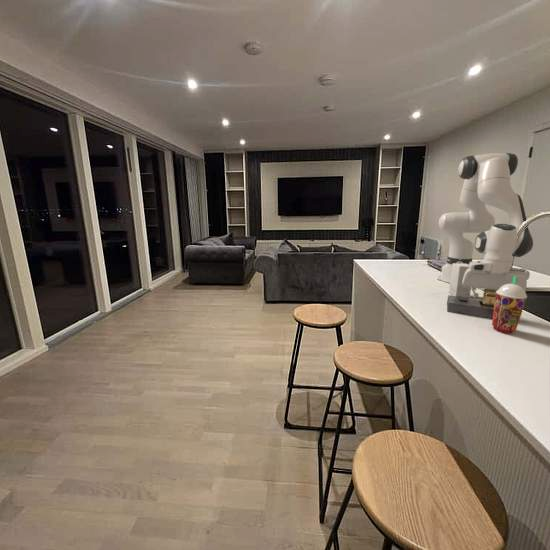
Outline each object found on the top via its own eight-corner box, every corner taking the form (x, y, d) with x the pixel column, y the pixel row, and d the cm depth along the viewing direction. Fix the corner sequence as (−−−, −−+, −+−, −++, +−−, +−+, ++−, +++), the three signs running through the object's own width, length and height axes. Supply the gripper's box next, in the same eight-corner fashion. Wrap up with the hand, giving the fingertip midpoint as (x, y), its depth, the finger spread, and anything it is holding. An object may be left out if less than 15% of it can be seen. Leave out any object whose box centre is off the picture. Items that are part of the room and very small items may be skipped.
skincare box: (469, 299, 132) (475, 266, 128) (454, 298, 134) (459, 266, 130) (462, 293, 140) (467, 263, 136) (447, 292, 142) (452, 262, 138)
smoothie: (510, 337, 95) (524, 280, 90) (483, 328, 102) (494, 274, 97) (523, 332, 98) (536, 277, 93) (496, 323, 106) (507, 272, 100)
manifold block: (446, 303, 126) (448, 295, 125) (502, 312, 117) (504, 302, 116) (447, 311, 117) (448, 302, 116) (507, 321, 107) (510, 311, 106)
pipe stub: (479, 310, 118) (483, 288, 116) (492, 312, 116) (497, 289, 113) (480, 314, 114) (485, 291, 112) (494, 316, 112) (499, 292, 109)
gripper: (528, 267, 108) (520, 301, 111) (465, 262, 117) (459, 293, 121) (533, 271, 102) (524, 306, 106) (466, 265, 112) (460, 297, 116)
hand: (489, 299), depth 113 cm, fingers open, 8 cm apart
